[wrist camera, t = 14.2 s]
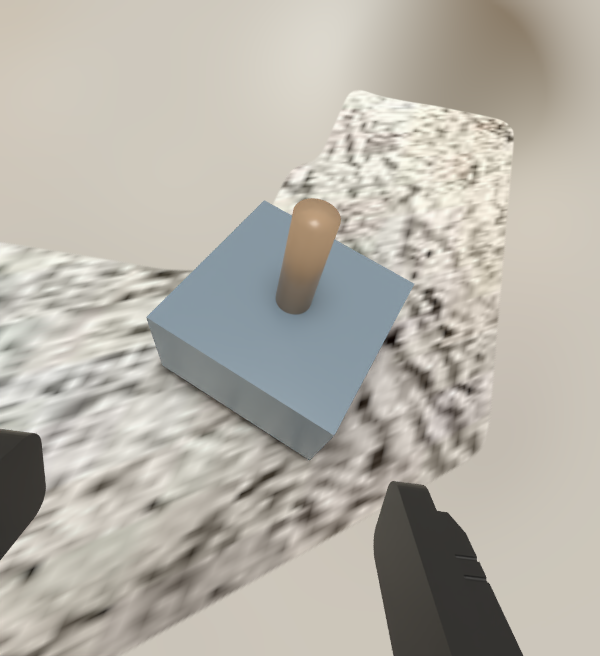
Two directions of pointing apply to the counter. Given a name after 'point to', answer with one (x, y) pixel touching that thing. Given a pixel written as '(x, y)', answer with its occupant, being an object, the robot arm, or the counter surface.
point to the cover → (281, 323)
